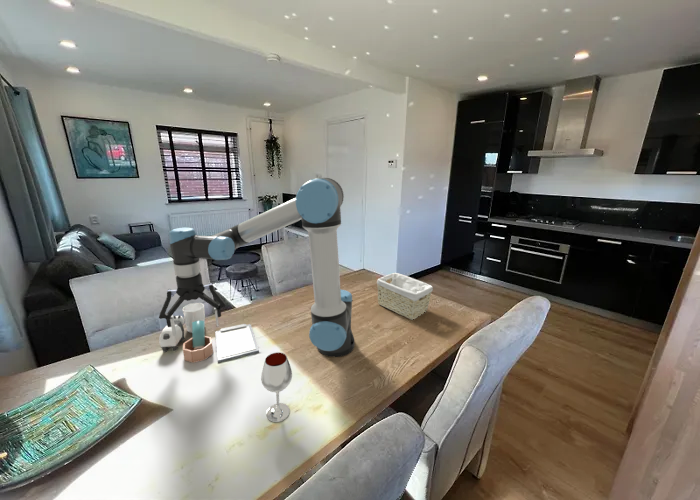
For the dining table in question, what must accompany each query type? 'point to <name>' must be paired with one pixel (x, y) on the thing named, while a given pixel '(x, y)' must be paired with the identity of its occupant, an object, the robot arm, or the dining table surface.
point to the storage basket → (404, 295)
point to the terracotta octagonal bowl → (197, 354)
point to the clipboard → (235, 342)
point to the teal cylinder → (198, 334)
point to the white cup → (193, 314)
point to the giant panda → (167, 335)
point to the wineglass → (276, 383)
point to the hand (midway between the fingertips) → (196, 329)
